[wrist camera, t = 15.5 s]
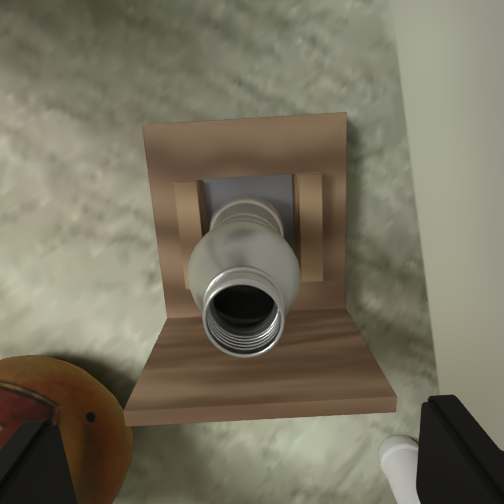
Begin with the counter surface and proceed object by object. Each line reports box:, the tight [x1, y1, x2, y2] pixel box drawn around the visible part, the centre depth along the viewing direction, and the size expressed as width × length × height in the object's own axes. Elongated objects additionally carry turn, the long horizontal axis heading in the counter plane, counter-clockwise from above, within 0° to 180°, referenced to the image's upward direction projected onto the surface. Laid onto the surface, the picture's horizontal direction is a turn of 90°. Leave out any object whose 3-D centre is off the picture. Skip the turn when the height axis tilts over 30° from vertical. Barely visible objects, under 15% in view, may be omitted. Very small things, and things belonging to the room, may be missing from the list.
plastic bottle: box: [188, 194, 301, 358], centre depth 26 cm, size 6×7×20 cm
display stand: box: [123, 112, 397, 427], centre depth 31 cm, size 20×18×16 cm
